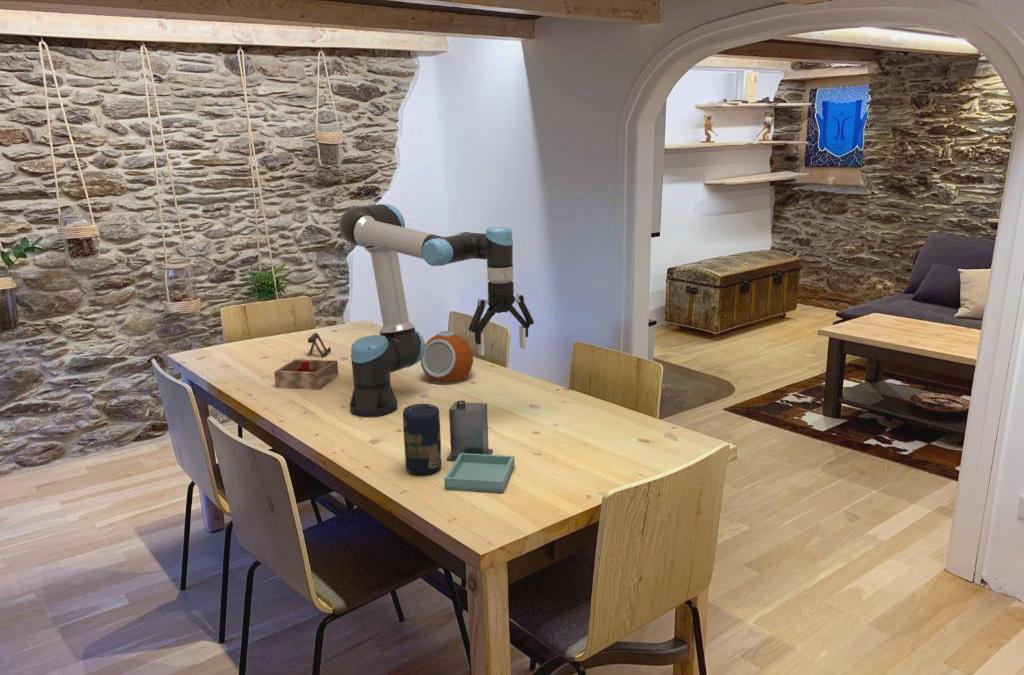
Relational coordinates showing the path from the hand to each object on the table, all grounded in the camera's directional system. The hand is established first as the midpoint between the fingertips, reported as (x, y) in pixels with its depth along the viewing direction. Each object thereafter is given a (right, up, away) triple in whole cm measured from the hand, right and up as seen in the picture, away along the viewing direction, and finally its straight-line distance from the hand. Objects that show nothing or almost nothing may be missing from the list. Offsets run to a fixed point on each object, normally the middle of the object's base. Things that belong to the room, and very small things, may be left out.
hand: (502, 351), depth 222 cm
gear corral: (-72, -12, +50) cm, 88 cm away
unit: (-9, -28, -18) cm, 35 cm away
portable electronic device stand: (-77, -3, +85) cm, 115 cm away
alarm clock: (-21, -11, +50) cm, 55 cm away
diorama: (-71, -12, +50) cm, 88 cm away
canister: (-20, -31, -26) cm, 45 cm away
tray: (-5, -32, -32) cm, 45 cm away
